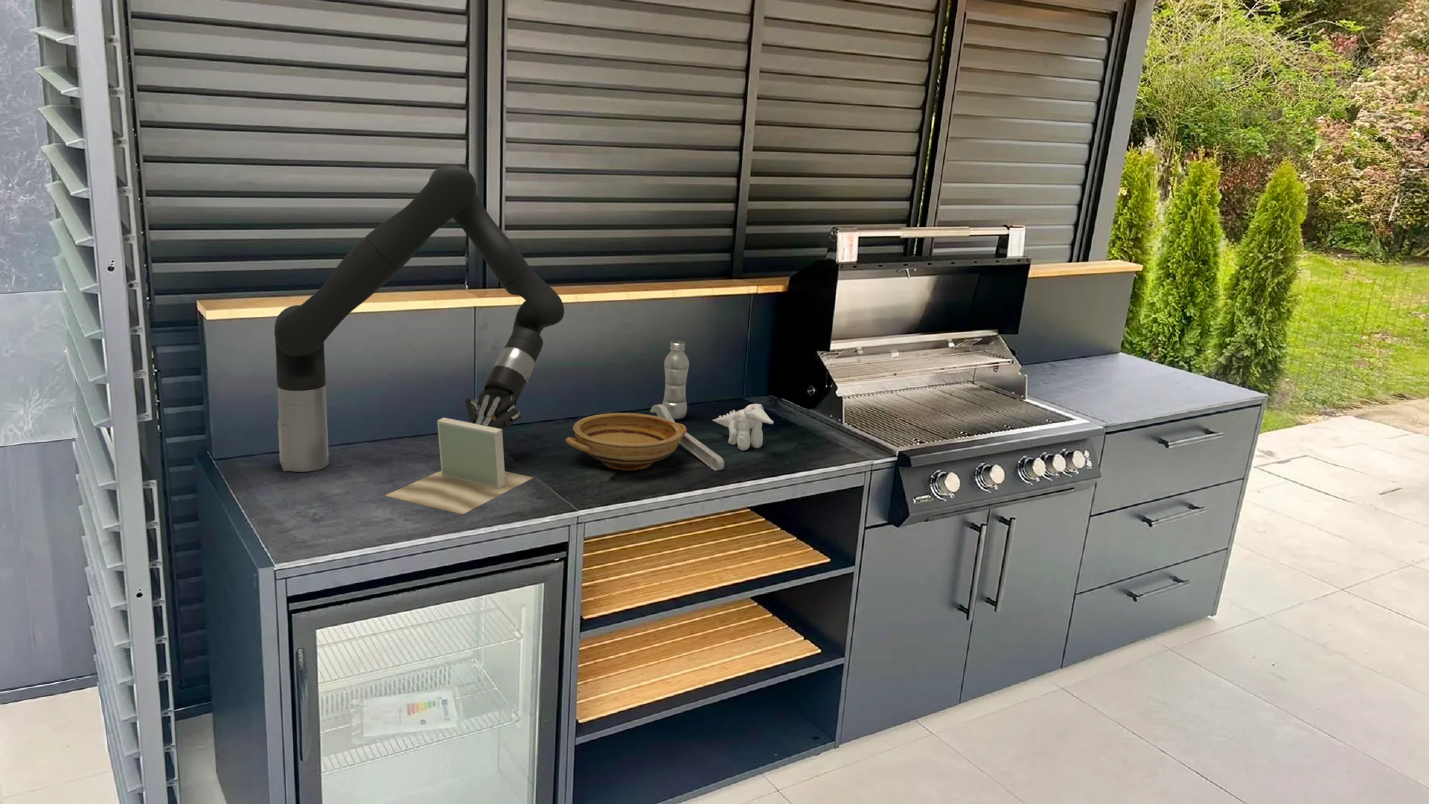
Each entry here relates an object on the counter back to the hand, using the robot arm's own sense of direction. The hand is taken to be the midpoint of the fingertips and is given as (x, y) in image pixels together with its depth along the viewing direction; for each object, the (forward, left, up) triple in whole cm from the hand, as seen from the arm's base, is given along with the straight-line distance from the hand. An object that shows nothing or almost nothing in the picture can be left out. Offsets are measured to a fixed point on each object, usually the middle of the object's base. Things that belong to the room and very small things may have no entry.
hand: (475, 445), depth 210 cm
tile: (-1, -1, -7) cm, 7 cm away
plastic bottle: (+60, +33, -9) cm, 69 cm away
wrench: (+51, +8, -9) cm, 53 cm away
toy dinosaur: (+66, +9, -9) cm, 68 cm away
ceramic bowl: (+35, +5, -9) cm, 37 cm away
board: (-4, -3, -9) cm, 10 cm away
